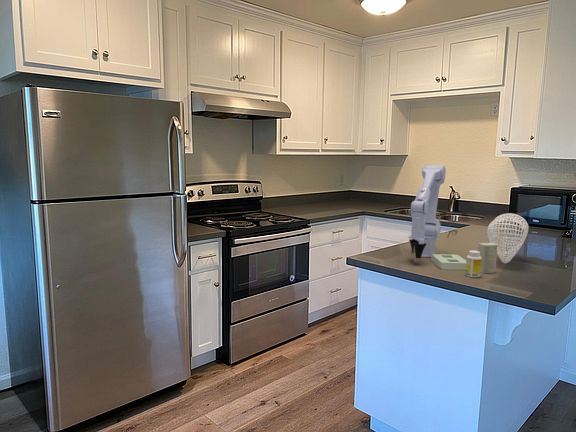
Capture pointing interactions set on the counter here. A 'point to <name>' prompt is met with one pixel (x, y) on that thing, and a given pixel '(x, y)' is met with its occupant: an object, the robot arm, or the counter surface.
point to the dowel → (415, 260)
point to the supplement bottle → (473, 264)
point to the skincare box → (488, 257)
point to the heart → (517, 247)
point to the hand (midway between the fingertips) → (416, 256)
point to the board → (449, 261)
